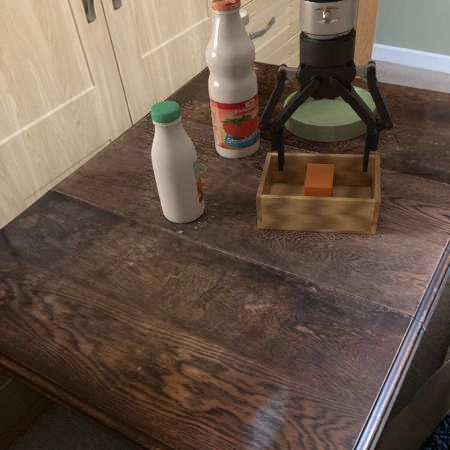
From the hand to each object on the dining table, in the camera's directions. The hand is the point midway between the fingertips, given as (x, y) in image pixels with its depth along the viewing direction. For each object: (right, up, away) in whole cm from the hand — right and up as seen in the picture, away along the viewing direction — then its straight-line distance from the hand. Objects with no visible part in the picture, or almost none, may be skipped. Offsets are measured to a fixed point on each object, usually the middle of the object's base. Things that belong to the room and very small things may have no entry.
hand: (322, 167), depth 82 cm
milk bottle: (-24, -6, +9) cm, 26 cm away
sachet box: (0, -5, +5) cm, 8 cm away
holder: (0, -6, +6) cm, 8 cm away
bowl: (+6, +17, +26) cm, 32 cm away
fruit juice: (-13, +10, +22) cm, 28 cm away
